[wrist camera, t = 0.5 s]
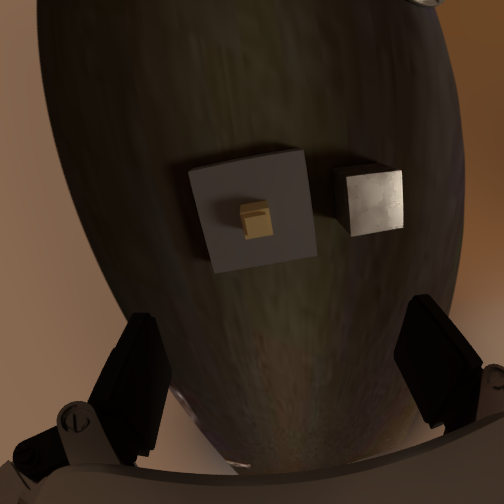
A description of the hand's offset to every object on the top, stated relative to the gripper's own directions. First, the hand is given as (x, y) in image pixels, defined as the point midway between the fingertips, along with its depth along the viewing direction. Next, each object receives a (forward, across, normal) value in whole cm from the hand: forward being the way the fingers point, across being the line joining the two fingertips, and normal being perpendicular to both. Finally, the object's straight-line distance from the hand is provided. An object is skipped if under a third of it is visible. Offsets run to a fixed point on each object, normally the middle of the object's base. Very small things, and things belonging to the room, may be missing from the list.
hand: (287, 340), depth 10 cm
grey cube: (+27, -13, +1) cm, 30 cm away
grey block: (+27, +1, +3) cm, 27 cm away
